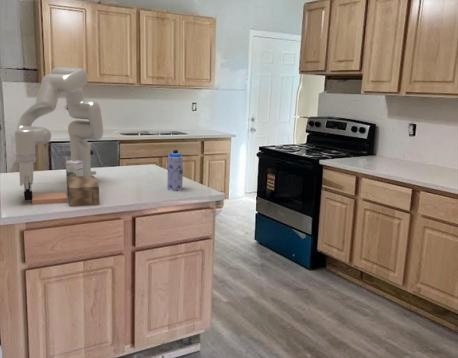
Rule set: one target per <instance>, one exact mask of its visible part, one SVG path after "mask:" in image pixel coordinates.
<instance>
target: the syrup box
mask: <svg viewBox="0 0 458 358" xmlns="http://www.w3.org/2000/svg"><path fill="white" fill-rule="evenodd" d="M65 172H66V173H65V175H66V178H65V179H67V177H74V176H83V161H79V160H71V159H69V160H66V161H65ZM66 191H67V192H68V189H67V188H66Z"/></svg>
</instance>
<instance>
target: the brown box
mask: <svg viewBox="0 0 458 358" xmlns="http://www.w3.org/2000/svg"><path fill="white" fill-rule="evenodd" d="M67 189H68V191H67V197H69V200H68V201H69V203H68V204H69V207H81V206H98V205H100V186H99V184H98V182H97V180H96V177H95V175H92V176H74V177H67V178H66V190H67Z"/></svg>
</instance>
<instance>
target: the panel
mask: <svg viewBox="0 0 458 358" xmlns="http://www.w3.org/2000/svg"><path fill="white" fill-rule="evenodd" d="M31 201H32V202H31V204H32V205H33V206H36V205H49V204H66V203H68V193H67V192H50V193H49V192H46V193H32V200H31Z"/></svg>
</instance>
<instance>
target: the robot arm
mask: <svg viewBox="0 0 458 358" xmlns="http://www.w3.org/2000/svg"><path fill="white" fill-rule="evenodd" d="M88 81H89V75H88V72H87V71H86V70H85V69H84V68H83V67H82V68H80V67H68V66H58V67H54V68H52V69H51V71H50V73H48V74H45V75H44V76H43V78H42V80H41V83H40V86H39V89H38V93H37V96H36V99H35V102H34V104H33V105H31V106H30V107H28V109H26V110H25V111H24V112H23V114H22V115H21V116H20V118H19V120H18V124H17V126H16V130H15V131H14V138H15V139H14V143H15V157H16V158H15V159H16V163H19V165H18V168H19V171H18V172H19V173H18V174H19V186H21V187H23V189H24V190H23V200H24V201H27V202H28V201H32V196H33V190H32V188H33V187H32V186H33V184H34V163H36V162H37V156H36V152H37V151H36V145H38V146H39V145H46V144H48V143H49V142H50V141H51V139H52V132H51V131H50V130H49V129H48V128H46V127H43V126H32V125H33V123H34V122H35V121H36V120H37V119H39V118H41V117H43V116H45V115H47V114H51V113H52V112H54V111H55V110H56V109H57V103H58V100H59V97H60V94H65V100H66V107H67V112H68V114H69V116H70V118H73V119H76V120H72V121H71V122H69V124H68V126H67V131H68V132H67V133H68V137H69V143H70V160H79V161H83V176H95V175H97V171H96V170H93V171H92V170H91V168H92V167H91V166H92V165H91V146H90V144H89V142H88V140H89V141H99V140H101V139H102V137H103V135H104V126H103V124H104V123H103V117H102V116H103V115H102V110H101V107H100V104H99V103H98V102H97V101H95V100H91V99H90V100H89V99H88V100H87V99H85V96H84V90H83V87H85V86H86V85H87V83H88Z"/></svg>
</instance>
